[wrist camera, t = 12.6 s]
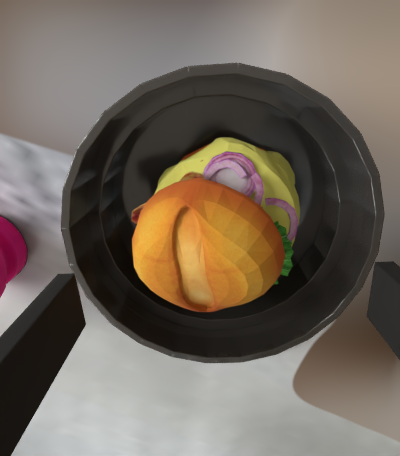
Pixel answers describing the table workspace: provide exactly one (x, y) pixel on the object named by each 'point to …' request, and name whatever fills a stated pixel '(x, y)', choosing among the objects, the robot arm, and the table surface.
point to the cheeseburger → (218, 227)
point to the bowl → (191, 141)
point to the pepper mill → (10, 253)
